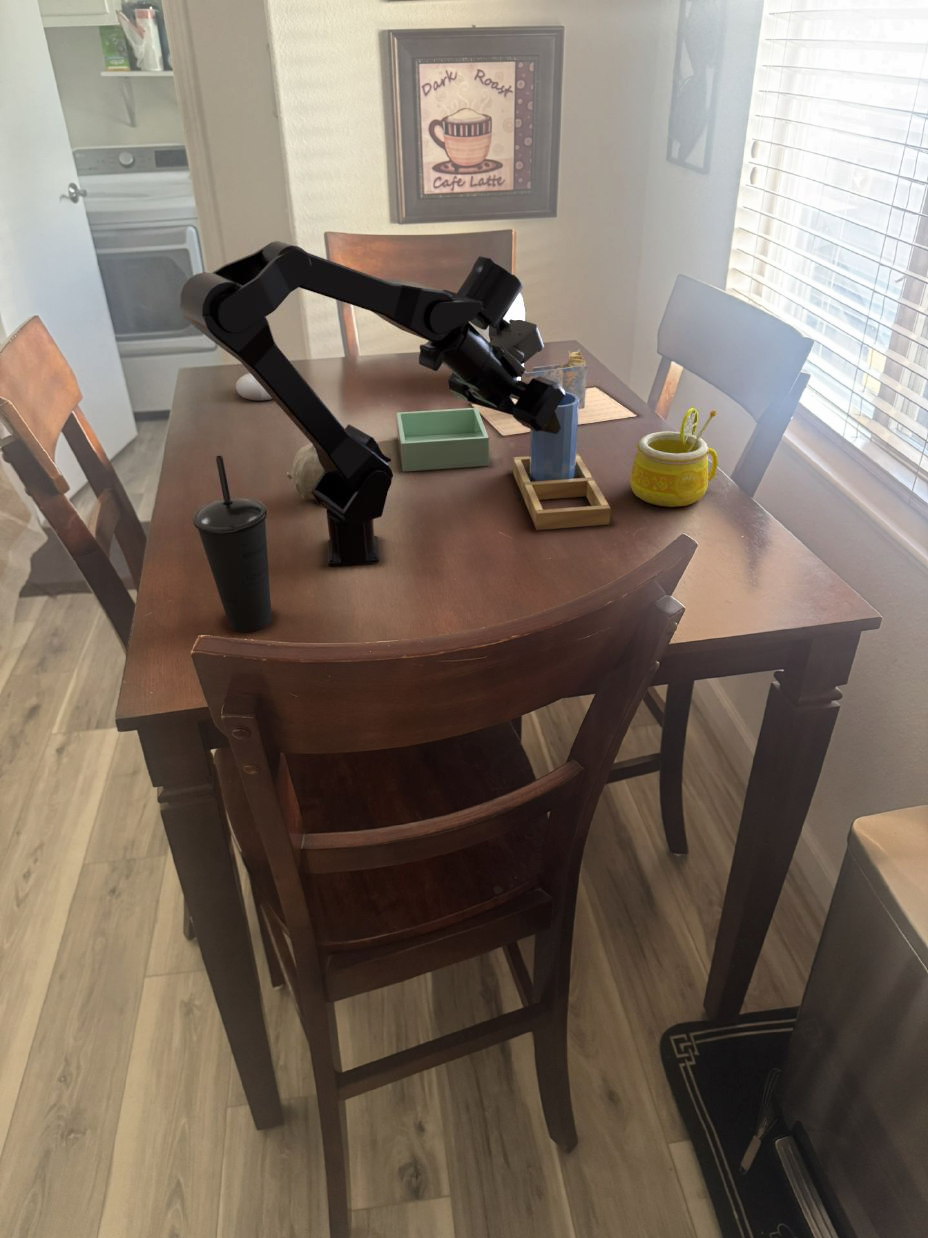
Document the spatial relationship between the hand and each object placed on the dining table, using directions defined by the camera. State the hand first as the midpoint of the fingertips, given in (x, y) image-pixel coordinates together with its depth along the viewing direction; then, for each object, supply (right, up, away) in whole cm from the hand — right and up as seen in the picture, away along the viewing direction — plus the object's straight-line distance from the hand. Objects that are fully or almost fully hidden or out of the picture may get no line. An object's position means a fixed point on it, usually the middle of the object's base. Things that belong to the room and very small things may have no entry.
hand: (536, 421), depth 120 cm
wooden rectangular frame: (+3, -10, +4) cm, 11 cm away
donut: (-48, +15, +44) cm, 67 cm away
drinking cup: (-35, -28, -21) cm, 49 cm away
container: (-5, +18, +46) cm, 49 cm away
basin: (-14, -1, +18) cm, 23 cm away
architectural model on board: (+6, +10, +33) cm, 35 cm away
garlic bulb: (-30, -10, +5) cm, 32 cm away
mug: (+20, -10, +4) cm, 23 cm away
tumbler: (+3, -8, +7) cm, 11 cm away
